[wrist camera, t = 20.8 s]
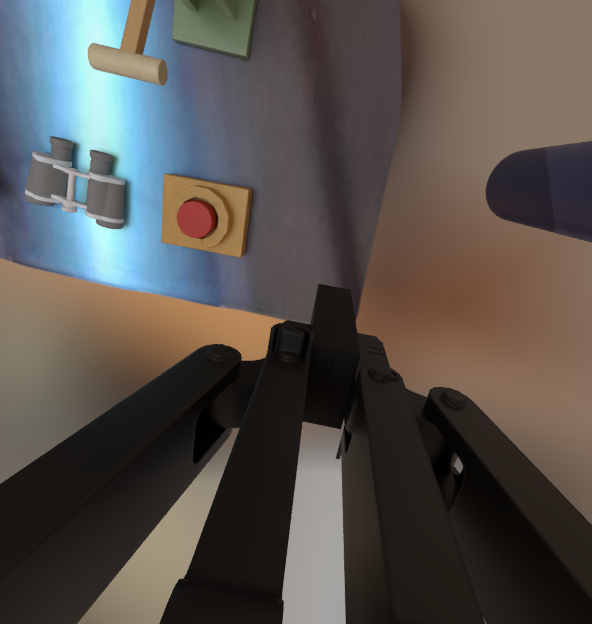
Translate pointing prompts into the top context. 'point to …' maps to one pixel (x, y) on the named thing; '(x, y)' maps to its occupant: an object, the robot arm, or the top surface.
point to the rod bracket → (215, 25)
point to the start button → (196, 218)
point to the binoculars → (61, 184)
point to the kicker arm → (131, 49)
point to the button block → (226, 204)
